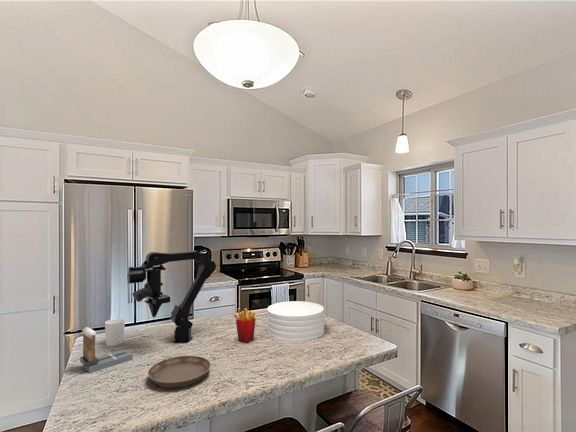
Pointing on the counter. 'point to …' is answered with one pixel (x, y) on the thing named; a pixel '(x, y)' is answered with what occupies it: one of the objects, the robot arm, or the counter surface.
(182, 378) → the plant saucer
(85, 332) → the slide lever
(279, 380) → the counter surface
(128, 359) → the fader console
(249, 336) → the french fries
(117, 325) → the white cup
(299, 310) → the plate stack
